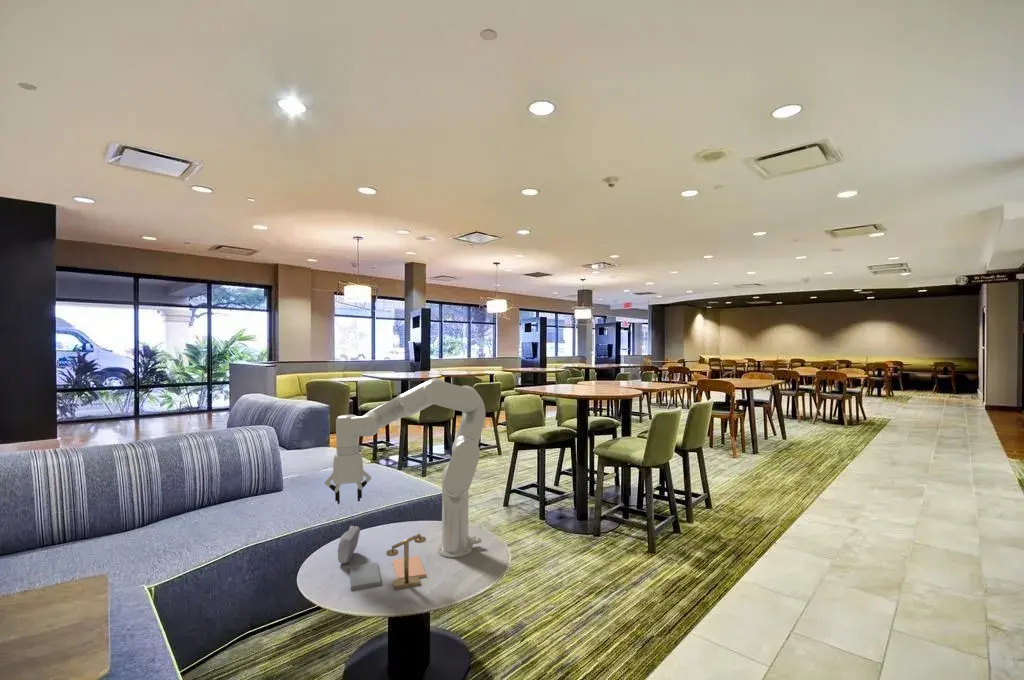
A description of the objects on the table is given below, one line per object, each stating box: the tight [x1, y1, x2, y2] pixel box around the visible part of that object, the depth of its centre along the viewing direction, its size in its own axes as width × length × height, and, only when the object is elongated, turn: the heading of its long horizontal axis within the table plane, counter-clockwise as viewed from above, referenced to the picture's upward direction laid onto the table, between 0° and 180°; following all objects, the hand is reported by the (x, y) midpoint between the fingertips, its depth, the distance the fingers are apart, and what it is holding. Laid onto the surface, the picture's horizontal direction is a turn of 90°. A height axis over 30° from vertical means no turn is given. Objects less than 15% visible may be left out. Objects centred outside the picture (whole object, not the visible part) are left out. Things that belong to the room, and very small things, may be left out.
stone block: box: [337, 525, 361, 565], centre depth 168 cm, size 12×5×10 cm, turn 0°
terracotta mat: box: [392, 555, 427, 580], centre depth 160 cm, size 9×14×1 cm, turn 20°
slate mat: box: [349, 561, 382, 591], centre depth 155 cm, size 9×14×1 cm, turn 20°
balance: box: [385, 533, 427, 591], centre depth 150 cm, size 12×4×16 cm, turn 110°
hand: (348, 501), depth 168 cm, fingers open, 6 cm apart
